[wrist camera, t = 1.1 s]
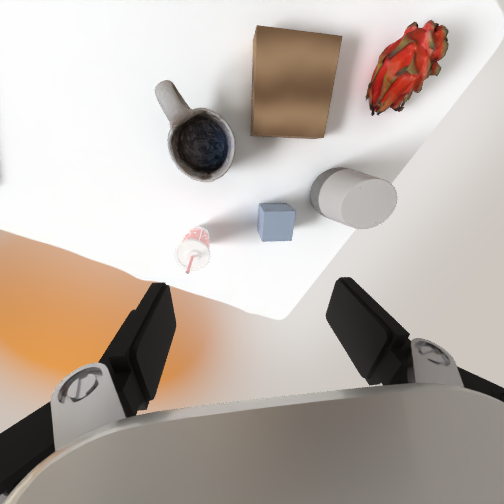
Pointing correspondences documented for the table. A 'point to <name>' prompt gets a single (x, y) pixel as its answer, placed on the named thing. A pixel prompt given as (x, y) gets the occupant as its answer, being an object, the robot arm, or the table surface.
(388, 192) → the smart speaker
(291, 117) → the walnut block
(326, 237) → the table surface
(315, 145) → the table surface
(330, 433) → the robot arm
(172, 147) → the mug
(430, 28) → the dragon fruit
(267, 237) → the slate cube
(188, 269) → the beverage cup
